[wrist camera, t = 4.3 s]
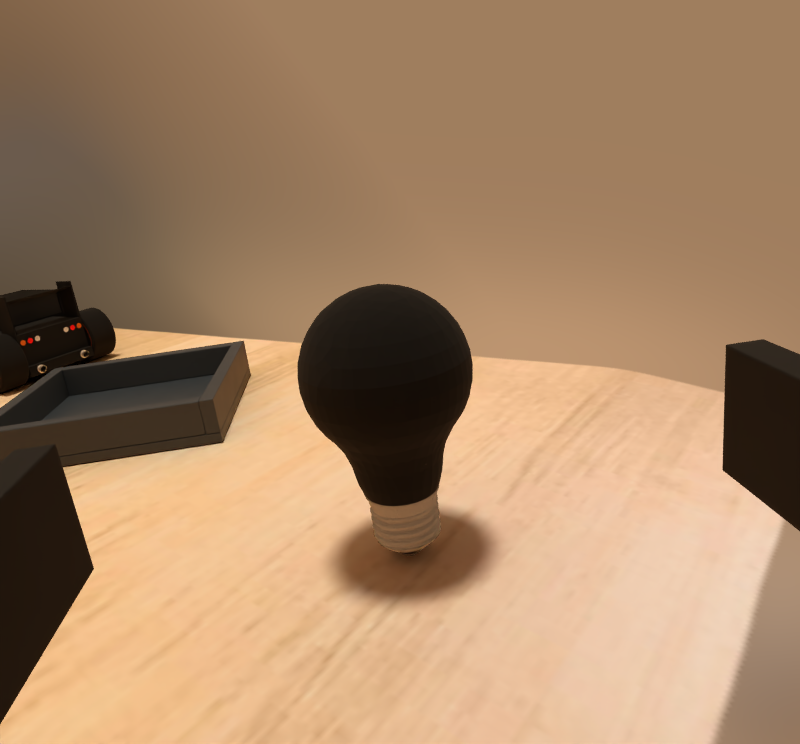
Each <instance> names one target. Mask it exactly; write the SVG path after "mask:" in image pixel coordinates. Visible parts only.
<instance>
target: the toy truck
mask: <svg viewBox="0 0 800 744" xmlns="http://www.w3.org/2000/svg"><path fill="white" fill-rule="evenodd" d="M56 284H57V288H58V289H55V290H21V291H17V292H13V293H9V294H4V295H0V393H2V392H4V391H7V390H10V389H13V388H16V387H18V386H21V385H24V384H25V383H26V382H27V381H28V378H29V377H35V376H38V375H40V374H43V373H46V372H49V371H52V370H53V369H55V368H60V367H63V366H66V365H69V364H71V363H74V362H77V361H80V360H82V361H90V360H93V359H96V358H99V357H101V356H104V355H107V354H109V353H111V352H112V351H113V350H114V348H115V344H116V337H115V332H114V329H113V326H112V324H111V322H110V320H109V319H108V318H107V316H106V315H105V314H104V313H103V312H101V311H100V310H99V309H96V308H89V309H85V310H82V311H79V310H78V306H77V303H76V299H75V295H74V292H73V289H72V285H71V282H70V281H63V282H62V281H61V282H56Z"/></svg>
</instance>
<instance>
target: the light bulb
mask: <svg viewBox="0 0 800 744" xmlns="http://www.w3.org/2000/svg"><path fill="white" fill-rule="evenodd" d="M298 383H299V390H300V394H301V397H302V400H303V402H304V405H305V408H306V410H307V412H308V414H309V415H310V417H311V418H312V420H313V422H314V423H315V425H316V426H317V427H318V428H319V430H320V431H321V432H322V433H323V434H324V435H325V436H326V437H327V438H328V439H330V440H331V441H332V442H334V443H335V444H336V445H337V446H338V447H339V448H340V449H341V450H342V451H343V452H344V454H345V455H346V457H347V459H348V460H349V462H350V464H351V465H352V468H353V470H354V473H355V476H356V478H357V481H358V484H359V486H360V487H361V489H362V491H363V493H364V495H365V497H366V499H367V500H368V501H369V504H370V506H371V508H370V511H371V514H372V515H371V518H372V521H373V529H374V536H375V538H376V539H377V540H378V542H379V543H380V544H381V545H382V546H383V547H385V548H387V549H389V550H392V551H395V552H399V553H401V554H404V555H414V554H416V553H418V552H419V551H420V550H422V549H423V548H424V547H426V546H428V545H429V544H430V543H432V542H433V541H434V540H435V538H436V537H437V536H438V535H439V533H440V528H441V525H440V518H439V513H440V512H439V509H438V502H437V499H438V497H437V490H438V488H439V482H440V477H441V473H442V465H443V453H444V448H445V443H446V440H447V438H448V436H449V434H450V432H451V430H452V428H453V426H454V425H455V423H456V422H457V420H458V419H459V417H460V416H461V414H462V412H463V411H464V409H465V406H466V404H467V401H468V398H469V395H470V389H471V384H472V358H471V353H470V348H469V346H468V343H467V340H466V338H465V335H464V333H463V331H462V329H461V328H460V326H459V324H458V322H457V321H456V320H455V319H454V318H453V316H452V315H451V314H450V313H449V312H448V311H447V310H446V308H444V307H443V306H442V305H440V303H438V302H437V301H436V300H434V299H433V298H431V297H429V296H428V295H426V294H424V293H422V292H420V291H418V290H415V289H412V288H409V287H404V286H400V285H390V284H377V285H371V286H366V287H361V288H358V289H355V290H352V291H350V292H348V293H346V294H344V295H342V296H340V297H339V298H337V299H335V300H334V301H333V302H332V303H331V304H330V305H328V306H327V307H326V308H325V309H324V310H322V311H321V312H320V314H319V315H318V316H317V317H316V319H315V320H314V322H313V323H312V325H311V326H310V328H309V330H308V331H307V333H306V336H305V338H304V341H303V343H302V345H301V350H300V355H299V360H298Z"/></svg>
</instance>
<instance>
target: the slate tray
mask: <svg viewBox="0 0 800 744" xmlns="http://www.w3.org/2000/svg"><path fill="white" fill-rule="evenodd" d="M249 376H250V369H249V364H248V360H247V355H246V350H245V345H244V341H239V342H233V343H225V344H219V345H212V346H205V347H198V348H191V349H184V350H177V351H171V352H164V353H157V354H150V355H143V356H136V357H130V358H123V359H116V360H109V361H102V362H95V363H88V364H82V365H75V366H68V367H61V368H55V369H53V370H52V371H51V372H49V373H48V374H46V375H45V376H44V377H42V378H41V379H40V380H38V381H37V382H36V383H34V384H33V385H31V386H30V387H29V388H27V389H26V390H25V391H23V392H22V393H20V394H19V395H18V396H16V397H15V398H14V399H12V400H11V401H9V402H8V403H7V404H5V405H4V406H3V407H1V408H0V462H1V461H2V460H3V459H5V458H6V457H7V456H8V455H9V454H10V453H11V452H13V451H14V450H18V449H25V448H31V447H38V446H45V445H52V444H56V448H57V451H58V454H59V457H60V460H61V464H62V466H68V465H74V464H81V463H88V462H94V461H101V460H107V459H114V458H120V457H127V456H133V455H140V454H146V453H153V452H160V451H166V450H173V449H179V448H186V447H192V446H199V445H205V444H212V443H219V442H223V439H224V437H225V435H226V432H227V430H228V427H229V425H230V422H231V420H232V418H233V415H234V413H235V410H236V408H237V405H238V403H239V401H240V398H241V396H242V393H243V391H244V388H245V386H246V384H247V381H248V379H249Z"/></svg>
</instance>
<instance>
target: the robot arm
mask: <svg viewBox="0 0 800 744" xmlns="http://www.w3.org/2000/svg"><path fill="white" fill-rule="evenodd" d="M723 471H725V472H726V473H727V474H728V475H730V476H731V477H732V478H733V479H735V480H736V481H737V482H738V483H740V484H741V485H742V486H744V487H745V488H746V489H747V490H749V491H750V492H751V493H752V494H754V495H755V496H756V497H757V498H759V499H760V500H761V501H762V502H764V503H765V504H766V505H767V506H769V507H770V508H771V509H773V510H774V511H775V512H776V513H778V514H779V515H780V516H781V517H783V518H784V519H785V520H786V521H788V522H789V523H790V524H792V525H793V526H794V527H795V528H797V529H798V530H799V531H800V354H797V353H795V352H792V351H790V350H788V349H785V348H783V347H780V346H778V345H775V344H773V343H770V342H768V341H766V340H756V341H749V342H742V343H736V344H729V345H726V366H725V402H724V439H723ZM93 569H94V568H93V564H92V561H91V558H90V555H89V551H88V548H87V545H86V542H85V538H84V535H83V532H82V529H81V525H80V522H79V519H78V516H77V512H76V509H75V506H74V503H73V499H72V496H71V493H70V490H69V486H68V483H67V480H66V477H65V473H64V470H63V467H62V464H61V460H60V457H59V454H58V451H57V448H56V444H52V445H45V446H38V447H31V448H25V449H18V450H14V451H13V452H11V453H10V454H9V455H8V456H7V457H6V458H5V459H3V460H2V461H1V462H0V724H1V722H2V720H3V719H4V717H5V715H6V714H7V712H8V710H9V709H10V707H11V706H12V704H13V702H14V701H15V699H16V697H17V696H18V694H19V692H20V691H21V689H22V687H23V686H24V684H25V682H26V681H27V679H28V677H29V676H30V674H31V672H32V671H33V669H34V667H35V666H36V664H37V662H38V661H39V659H40V657H41V656H42V654H43V652H44V651H45V649H46V647H47V646H48V644H49V642H50V641H51V639H52V637H53V636H54V634H55V632H56V631H57V629H58V627H59V626H60V624H61V622H62V621H63V619H64V617H65V616H66V614H67V612H68V611H69V609H70V607H71V606H72V604H73V602H74V601H75V599H76V598H77V596H78V594H79V593H80V591H81V589H82V588H83V586H84V584H85V583H86V581H87V579H88V578H89V576H90V574H91V573H92V571H93Z"/></svg>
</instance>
